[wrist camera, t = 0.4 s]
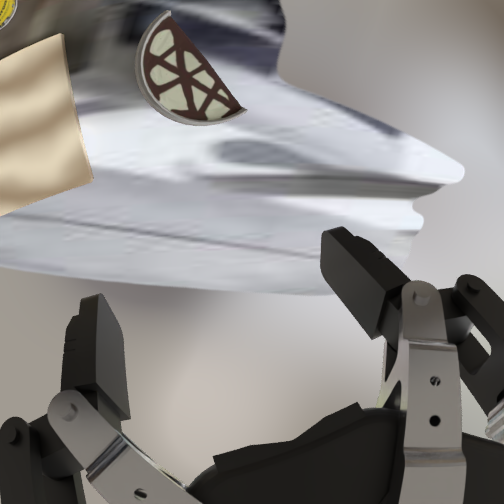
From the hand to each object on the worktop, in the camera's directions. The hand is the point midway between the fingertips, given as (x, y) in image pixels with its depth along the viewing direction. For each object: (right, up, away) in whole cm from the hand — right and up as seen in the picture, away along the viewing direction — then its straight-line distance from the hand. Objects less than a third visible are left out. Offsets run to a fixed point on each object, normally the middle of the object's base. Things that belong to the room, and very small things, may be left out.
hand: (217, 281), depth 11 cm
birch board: (-26, +15, +15) cm, 33 cm away
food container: (-8, +20, +19) cm, 28 cm away
